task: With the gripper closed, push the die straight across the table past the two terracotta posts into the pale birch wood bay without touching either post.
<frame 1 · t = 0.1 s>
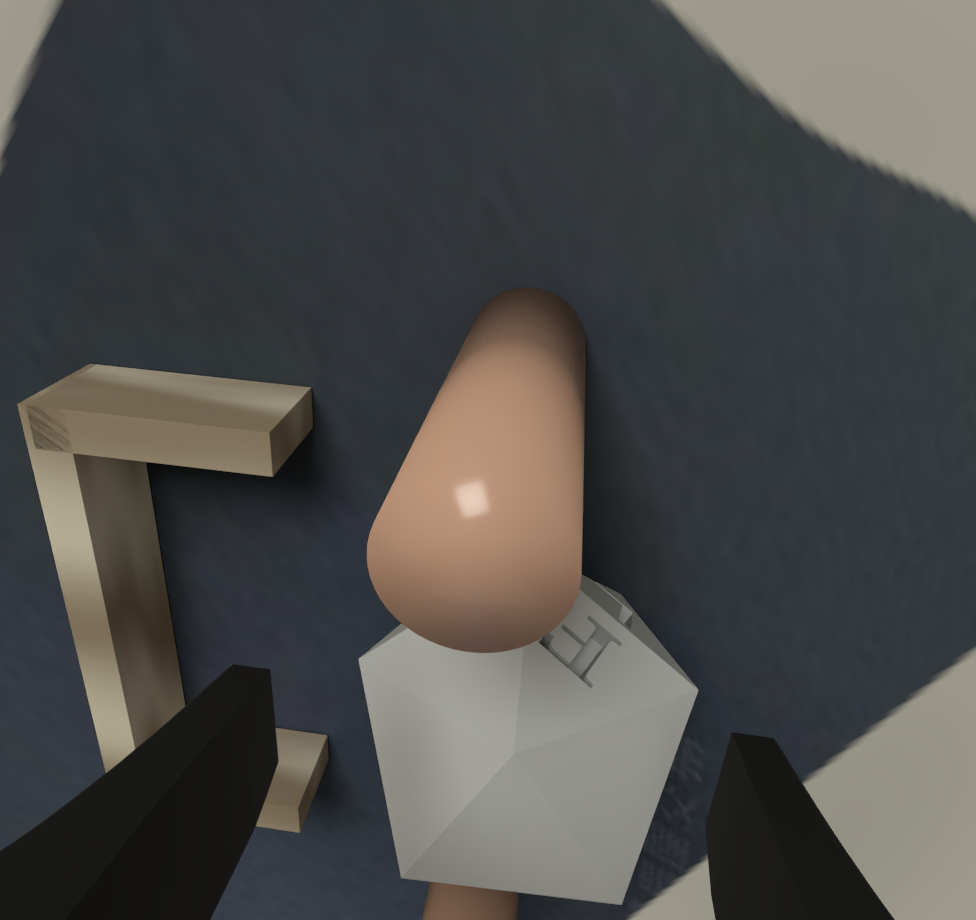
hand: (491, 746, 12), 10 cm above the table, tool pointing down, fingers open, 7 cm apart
die: (534, 621, 23), on the table
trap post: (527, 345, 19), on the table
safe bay: (224, 586, 24), on the table
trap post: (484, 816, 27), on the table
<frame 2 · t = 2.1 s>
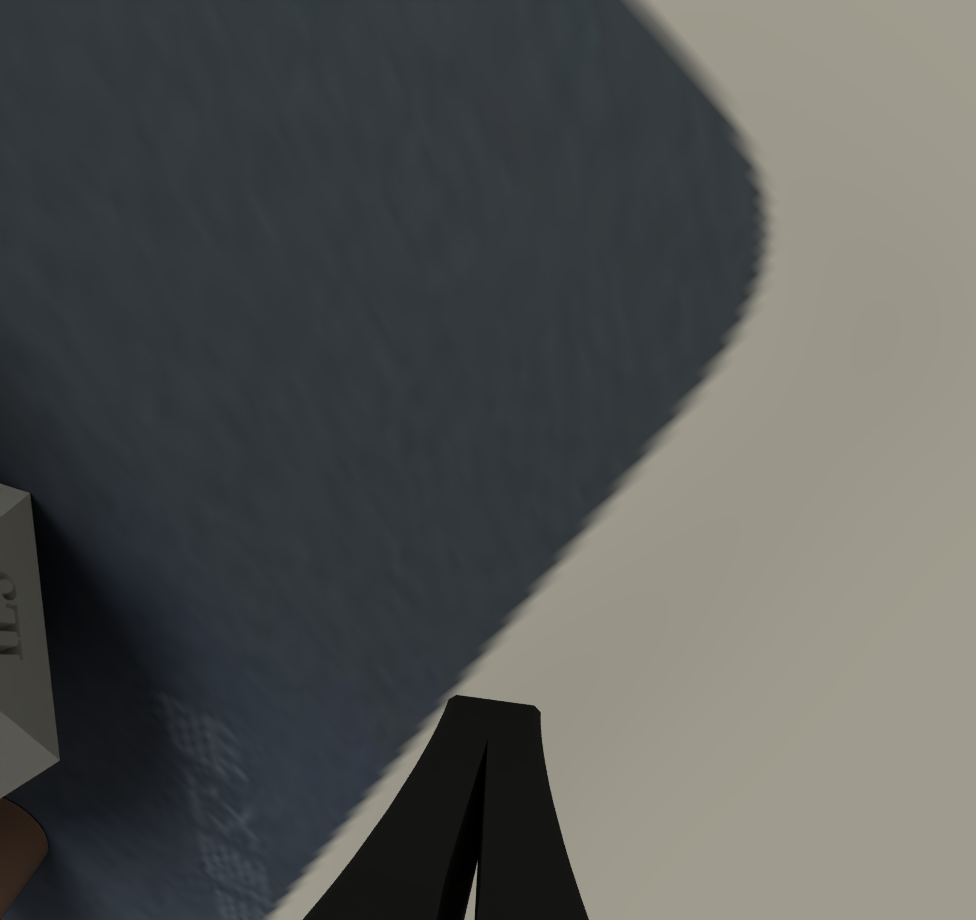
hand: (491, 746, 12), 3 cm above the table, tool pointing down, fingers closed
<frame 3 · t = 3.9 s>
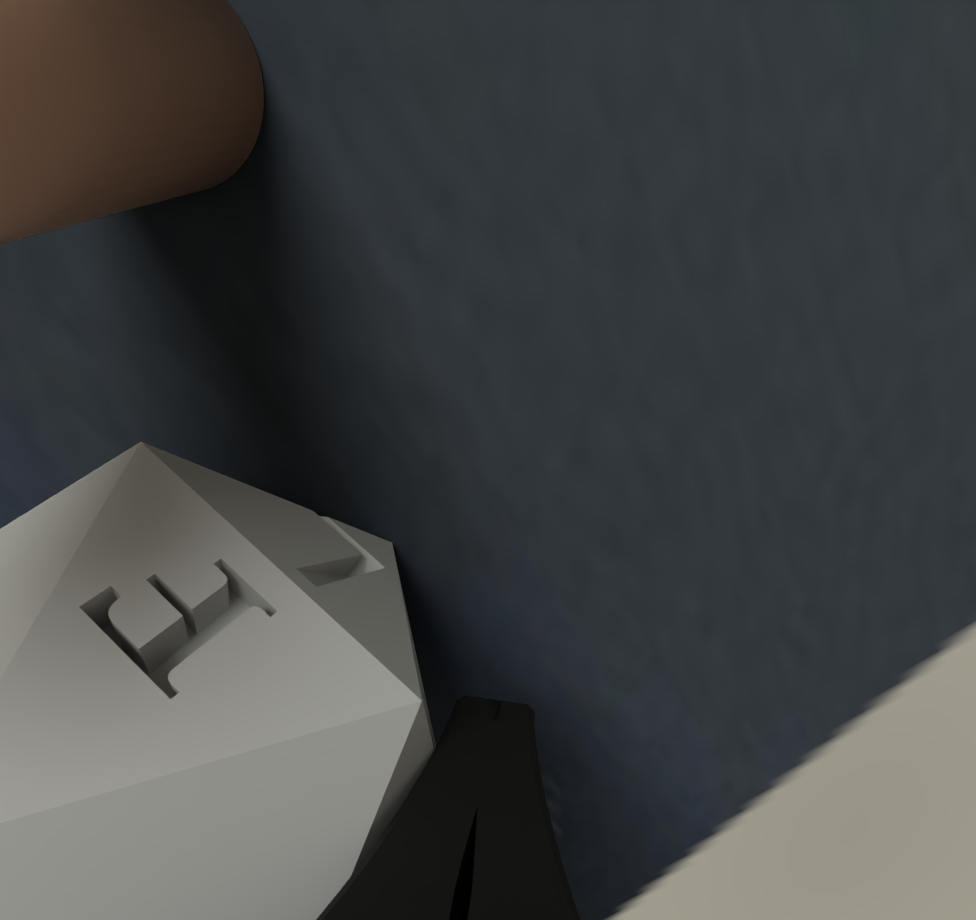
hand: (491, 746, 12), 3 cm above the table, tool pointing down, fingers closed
die: (274, 590, 15), on the table, touching gripper
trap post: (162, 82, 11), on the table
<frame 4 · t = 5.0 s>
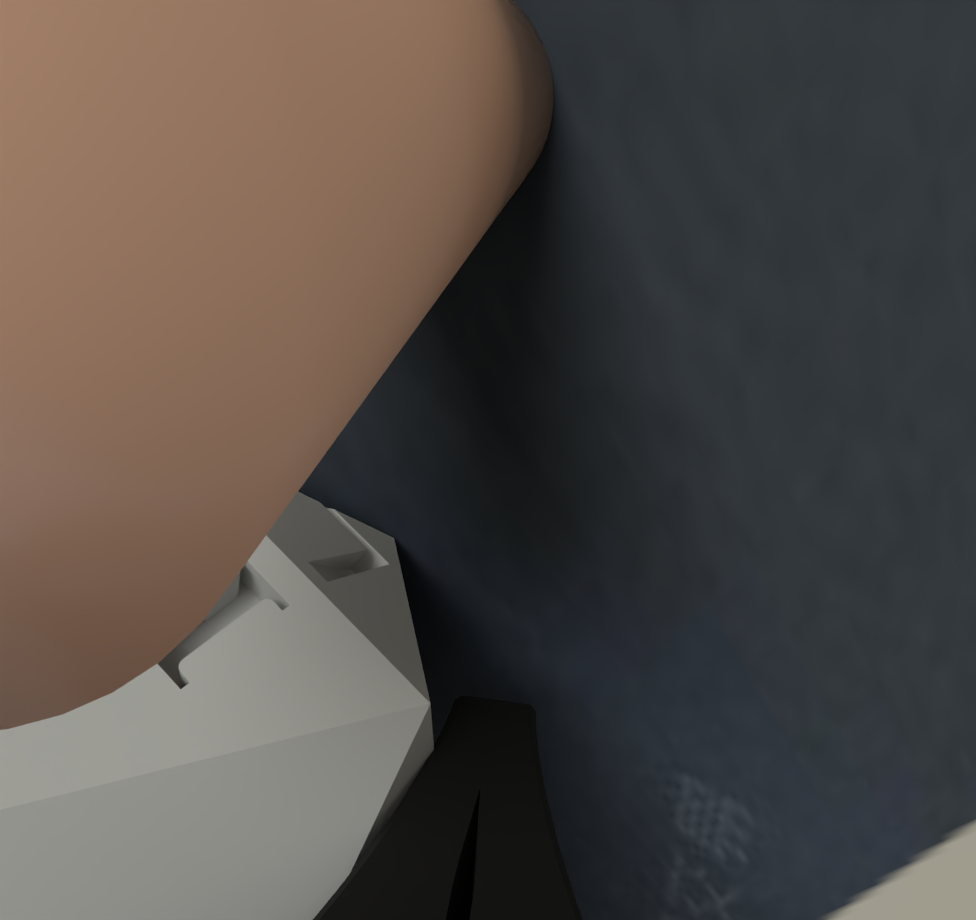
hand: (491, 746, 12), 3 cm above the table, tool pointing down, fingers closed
die: (269, 578, 15), on the table, touching gripper
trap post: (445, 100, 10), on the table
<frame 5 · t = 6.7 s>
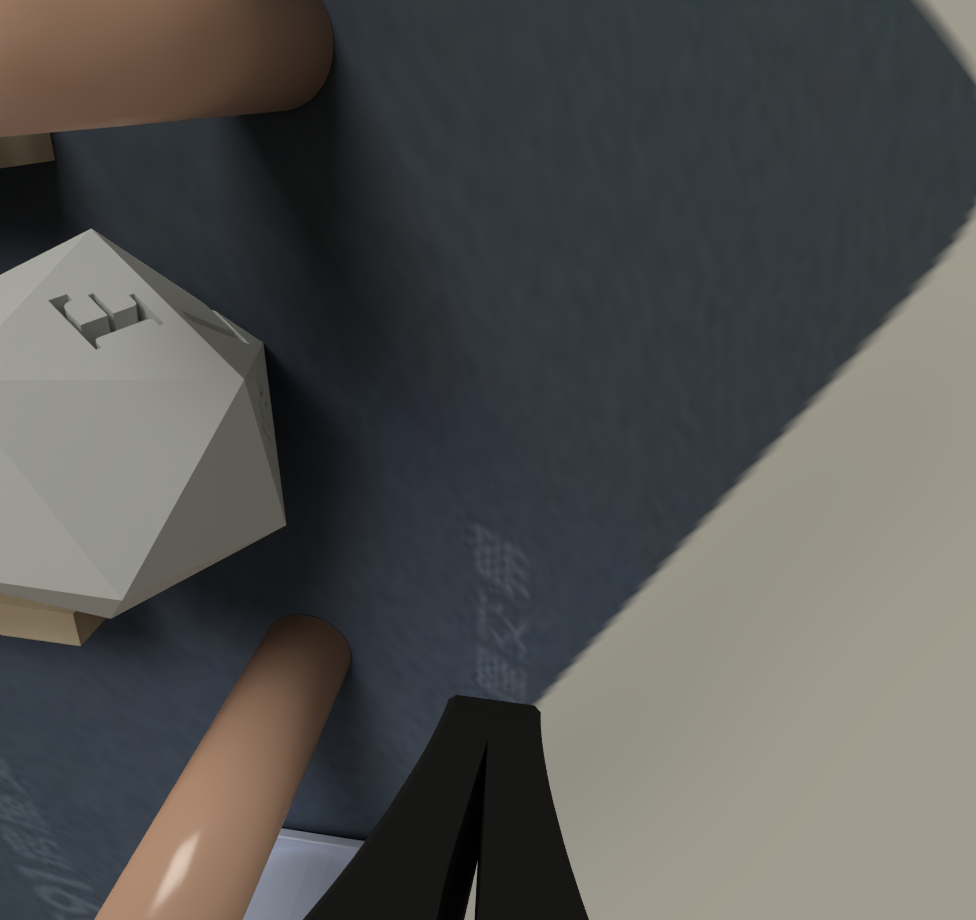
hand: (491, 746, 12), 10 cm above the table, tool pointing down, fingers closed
die: (183, 379, 21), on the table
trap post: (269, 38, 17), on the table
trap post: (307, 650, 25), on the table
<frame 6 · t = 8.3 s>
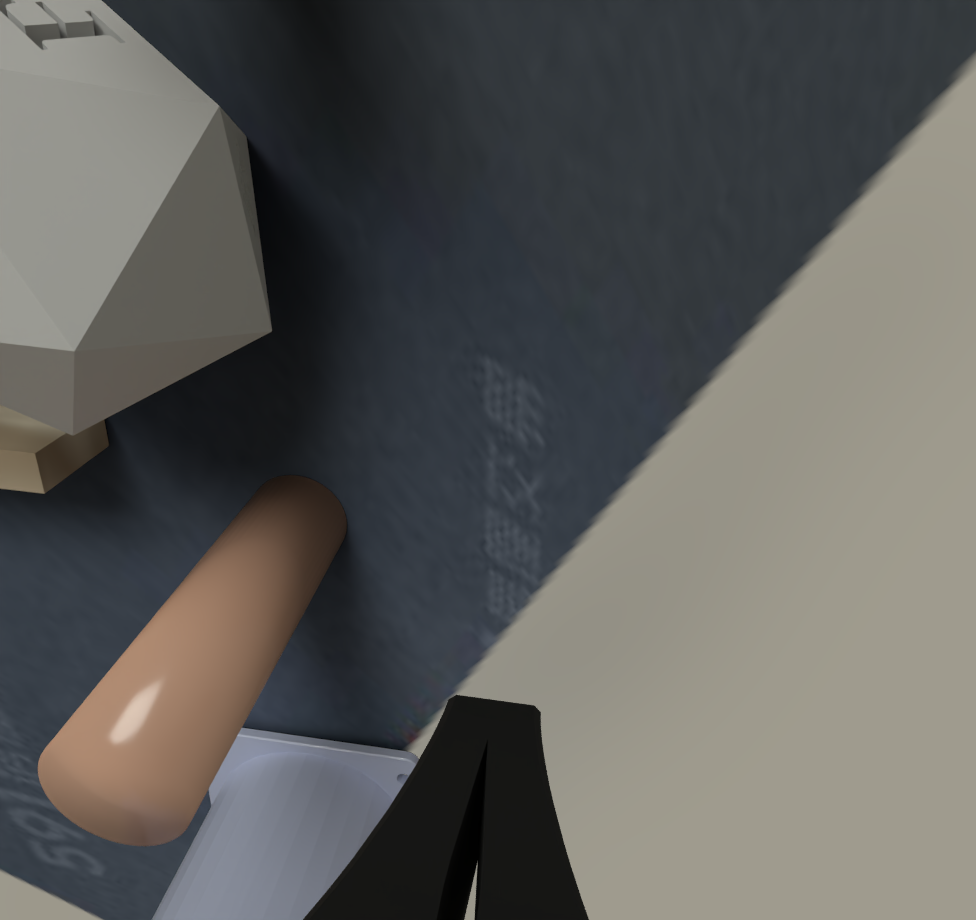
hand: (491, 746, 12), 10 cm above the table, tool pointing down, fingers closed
die: (158, 189, 19), on the table
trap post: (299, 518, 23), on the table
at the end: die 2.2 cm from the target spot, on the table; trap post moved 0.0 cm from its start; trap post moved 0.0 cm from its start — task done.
